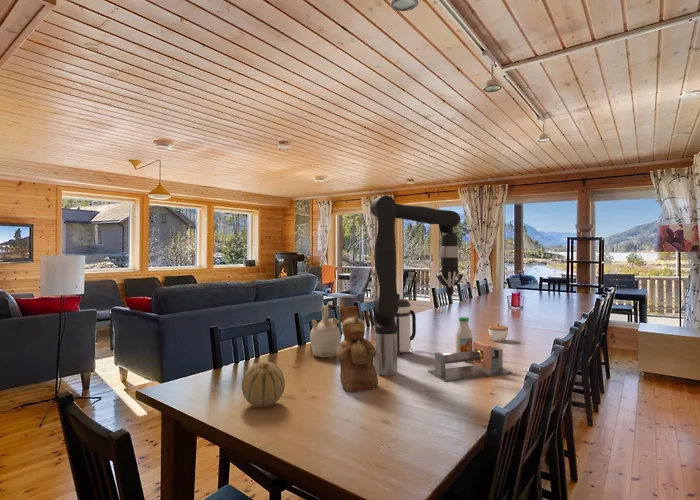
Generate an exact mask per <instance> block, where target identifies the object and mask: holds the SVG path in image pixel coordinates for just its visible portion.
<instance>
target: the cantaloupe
mask: <svg viewBox="0 0 700 500" xmlns="http://www.w3.org/2000/svg"><path fill="white" fill-rule="evenodd" d="M241 381H242V382H241V391H242V395H243V397H244V398H245V400H246V402H248V404H250V405H251V406H253V407H258V408H266V407H270V406H272V405H274V404H277V402H278V401H279V400H280V398H281V397H282V396H283V394H284V392H285V391H284V390H285V387H286V380H285V376H284V373H283V371H282V369H281V367H279V366H278V365H276V363H273V362H271V361H260V362H257V363H255V364H253V365H251V366H250V367H248V369H247V370H246V372H245V373H244V375H243V377H242V380H241Z"/></svg>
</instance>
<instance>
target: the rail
mask: <svg viewBox="0 0 700 500" xmlns="http://www.w3.org/2000/svg"><path fill="white" fill-rule="evenodd" d="M503 355H504V354H503V348H499V347H497V346H491V369H483V368H481V367H479V366H477V365H474V364H473V365H465V366H455V367H448V368H446V364H447V365H449V364H457V363H465V362H466V363H467V362H473V361H476V360H481V361H482V360H483V351H473V350H472V351H468V352H458V353H456V352H451V353H450V352H449V353H441V352H434V369H429V370H427V373H429V374H430V375H433V376H434V377H435V378H438V379H440V380H441V381H443V382H445V383H446V382H447V383H448V382H453V381H454V382H455V381H461V380H462V381H463V380H469V379H470V380H471V379H480V378H485V377H487V378H488V377H493V376H494V377H495V376H504V375H505V376H506V375H512V373H513V371H510V370H507V369H505V368H504V366H503V365H504V363H503V362H504V358H503Z"/></svg>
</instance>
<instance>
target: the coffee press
mask: <svg viewBox="0 0 700 500" xmlns="http://www.w3.org/2000/svg"><path fill="white" fill-rule="evenodd" d="M397 296H398V303H399V308H398V312H397V314H396V315H395V316H394V317H395V323H396V326H397V357H400V353H405V352H406V353H407V352H409V353H410V354H413V352H414V350H413V349H412V348H411V341H412V340H414V339H415V337H416V334H417V333H416V332H417V325H416V324H417V323H416V322H417V321H416V314H415V311H414V310H411V303H410V301H409V300H408V299H406V298H400V297H401V295H400V294H399V293H397ZM411 323H412V324H411ZM411 326H412V327H411ZM410 350H411V351H410Z"/></svg>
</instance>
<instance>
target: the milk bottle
mask: <svg viewBox="0 0 700 500" xmlns="http://www.w3.org/2000/svg"><path fill="white" fill-rule="evenodd" d="M469 321H470V319H469V317H468V316H459V317H458V322H459V323H458V324H459V325H458V327H457V329H456V332H455V353H458V352H468V351H473V333H472V330H471V328H470V325H469V323H470V322H469Z"/></svg>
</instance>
